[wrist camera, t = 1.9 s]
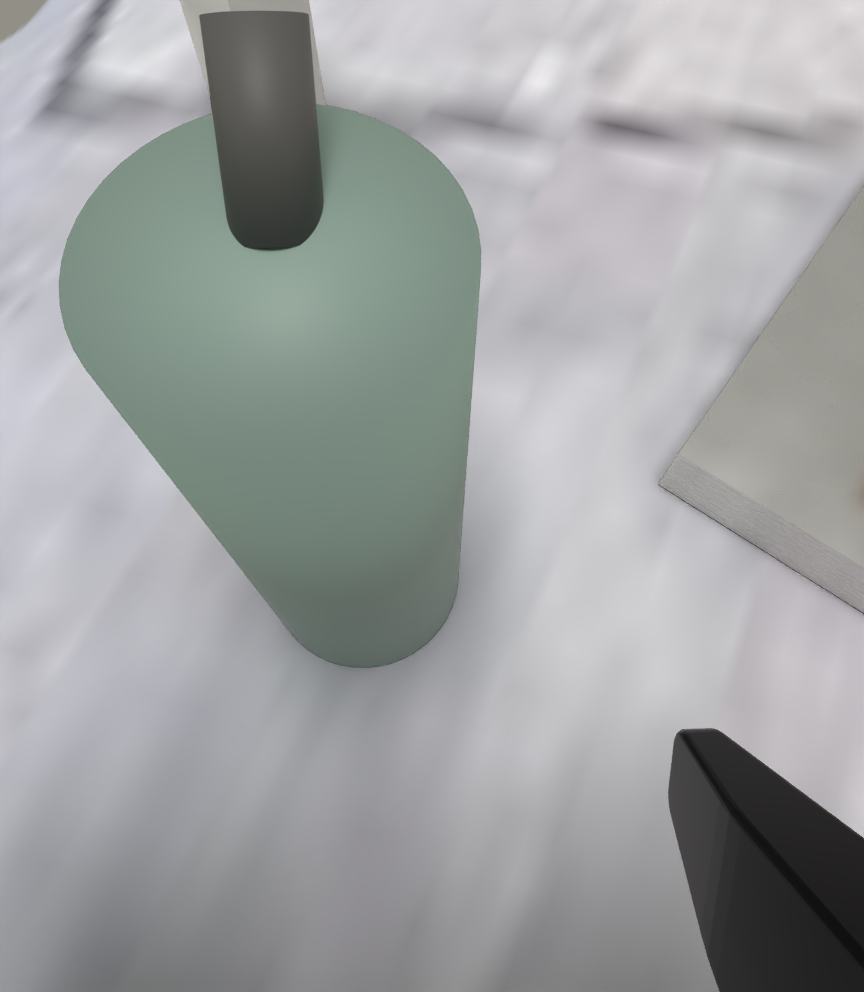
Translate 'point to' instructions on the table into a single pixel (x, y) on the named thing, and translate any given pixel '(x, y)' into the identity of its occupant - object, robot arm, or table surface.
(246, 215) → the spout can
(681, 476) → the grey flat block
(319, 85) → the eye dropper bottle
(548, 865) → the table surface
